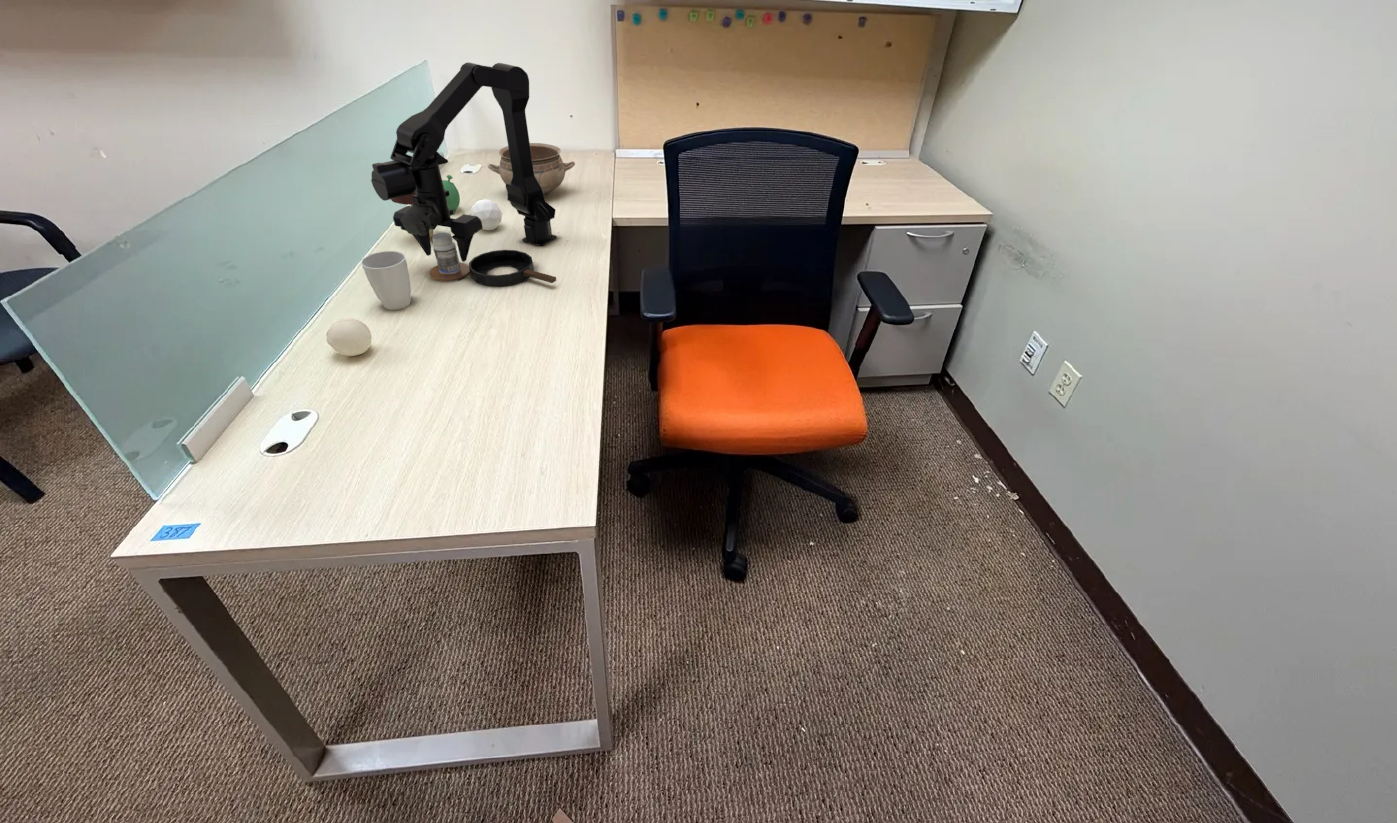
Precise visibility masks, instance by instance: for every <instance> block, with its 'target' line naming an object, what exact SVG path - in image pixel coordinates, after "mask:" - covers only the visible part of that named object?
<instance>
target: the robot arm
mask: <svg viewBox="0 0 1397 823" xmlns="http://www.w3.org/2000/svg"><path fill="white" fill-rule="evenodd" d="M483 87H487V88H491V91H492V94H493V97H494V99H495V101H496V102H497V104H498V106H499V107H500V109H501V111H502V116H503V122H504V128H505V134H506V141H507V146H508V147H509V154H510V160H511V166H512V172H513V178H512V180H511V183H509V184H505V189H506V193H507V198H506V200H507V201H508V202H509V203H510V205H511V207H512V208H513V209H515V210H516V211H517V214H518V215H521V216H523V217H524V218H523V224H524V225H523V229H524V236H525V237H522V239H521V241H522V242H525V243H528V244H532V245H535V246H540V247H543V246H545V245H547V244H548V243H549V244H550V242H552V241H555V239H557V238H558V236H557V235H555V234H553V233H552V232H553V231H552V224H551V220H553V219H555V217H556V209H555V208H554V207H553V206H552V205H550V204H549V202H547V201H546V199H545V196H544V194H543V191H542V188H541V186H540V184H539V183H538V181H537V179H536V178H535V175H534V170H533V163H532V156H531V149H530V143H531V141H530V136H529V129H528V121H527V114H526V108H527V106H528V103H529V100H530V79H529V75H528V73H527V72H526V71H525V70H524V69H523V68H522V67H520V66H517V65H513V64H507V63H502V62H497V63H494V64H493V65H492V66H488V65H483V64H482V65H481V64H478V63H475V62H474V63H473V62H468V61H467V62H465V63H463V64H462V65H461V66H460V68H459V70H458V72H457V73H456V74H455V75H454V76H453V77H452V79H451V80H450V81H449V82H448V83H447V84H446V86H444V88H443V89H442V90H441V91H440V92H439V93H438V95H437V96H436V97H435V98H434V99H433V100H432V101H431V103H430V104H429V105H428V106H427V107H426V108H424V109H423V110H422V111H419V112H417V113H415V114H413V115H411V116H409V117H408V118H407V119H405V120H404V121H403V122H402V123H400V124H399V125H398V127H397V128H396V131H395V135H396V140H395V143H394V146H393V149H392V152H391V154H390V156H389V158H390V161H384V162H375V163H372V164H371V167H372V171H371V179H370V181H371V185H372V187H373V189H374V191H375V193H376V195H377V196H378V197H379V199H381V200H382V201H391V199H394V198H397V197H401V196H405V195H409V194H412V193H413V191H415V192H416V194H415V195H413V196H412V197H413V198H412V201H413V206H411V205H406V206H405V207H402V208H400V209H398V210H396V211H395V212H394V213H393V216H392V220H393V222H394V226H395V227H399V228H400V229H401V230H402V231H405V232H406V233H407V234H409V235H412V236H413V238H414V239H415V241H416V242H417V244H419V246H420V248H421V249H422V250H423V253H424V254H425V255H426V256H428V257H429V256H431V255H432V244H431V238H430V235H429V230H430V229H432V230H433V231H434V230H435V229H436V228H437V227H438V226H440V227H445V228H450V232H451V233H452V234H453V235H451V236H452V240H454V241H455V242H456V246H457V249H458V253H459V257H460V259H461V263H464V262H466V261H467V259H468V255H469V251H470V247H471V243H472V241H473V237H474V236H475V234H477V233H478V232H479V231H481V230H483V227H482V222H481V219H480V218H478V217H477V216H472V215H471V214H464V213H463V214H461V215H460V216H458V217H457V218H452V217H451V216H453V215H455V211H453V209H449V208H448V203H447V199H446V197H447V196H449V195H450V194H449V191H448V190H444V186H443V182H442V180H443V177H442V173H441V169H440V165H441V166H442V165H445V164H448V163H449V160H448V159H447V158H445V157H444V156H442V154H440V152H438V151H439V149H440V147H441V146H442V144H443V142H444V141H445V135H446V131H447V129H448V127H449V126H450V124H451V123H452V122H453V121H454V120H455V119H456V118H457V116H458V115H459V114H460V113H461V111H463V109H464V108H465V107H466V106H467V105H468V103H469V102H470V101H471V100H472V99H473V98H474V96H475V95H476V94H478V92H479V91H480V89H482V88H483ZM408 153H411V154H412V155H409V154H408Z"/></svg>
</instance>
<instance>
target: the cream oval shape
mask: <svg viewBox="0 0 1397 823" xmlns="http://www.w3.org/2000/svg"><path fill="white" fill-rule="evenodd" d="M325 335H326V342H327V344H328V345H329V346H330V347H331V348H332V349H333V350H334V351H335V352H336V353H338V354H339V355H342V356H345V357H356V356H361V354H364V353H365V352H367V351H368V350H369V349H370V346H371V344H372V341H373V340H372V333H371V330H370V327H368V325H367V324H366V323H364V322H363V321H362V320H359V319H357V318H351V317H350V318H348V317H347V318H342V319H339V320H336V321H335V322H333V323H332V324H331V325H330V327H329V329H327V331H326V334H325Z"/></svg>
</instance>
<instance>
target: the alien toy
mask: <svg viewBox="0 0 1397 823" xmlns="http://www.w3.org/2000/svg"><path fill="white" fill-rule="evenodd" d="M446 178H447V179H442V182H443V186H444V190H448V191H449V194H450V195H449V196H447V197H446V199H447V203H448V208H449V209H453V212H455V211H456V210H457V209H458V208H459V207H460V202H461V198H460V193H459V190H458V188H457V186H456V185H455V183H454V182H451V180H452V179H453V176H452V175H450V174H448V175H446Z"/></svg>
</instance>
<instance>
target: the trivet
mask: <svg viewBox="0 0 1397 823" xmlns="http://www.w3.org/2000/svg"><path fill="white" fill-rule="evenodd" d="M460 267H461V269H460V271H459V272H457V273H455V274H442V273H440V271H439V268H438V265H435V266H433V267H432V268H431V269H430V270H429V271H428V275H429V277H430V279H432V280H434V281H436V282H437V281H438V282H455V281H459V280H461V279H465V278H466V277H468V276H469V275H471V274H470V270H469V264H466V263H464V262H460Z"/></svg>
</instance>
